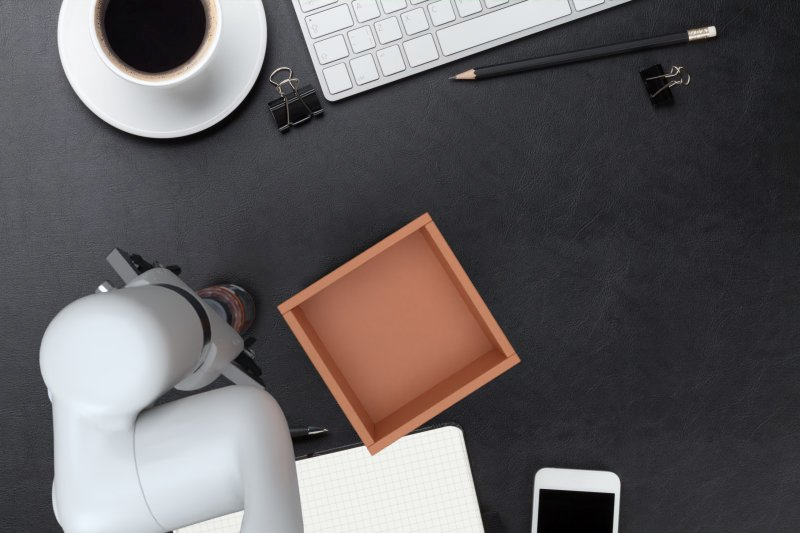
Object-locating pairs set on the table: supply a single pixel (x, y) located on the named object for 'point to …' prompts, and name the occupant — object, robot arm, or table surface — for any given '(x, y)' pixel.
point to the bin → (399, 333)
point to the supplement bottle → (230, 305)
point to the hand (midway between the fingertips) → (206, 314)
